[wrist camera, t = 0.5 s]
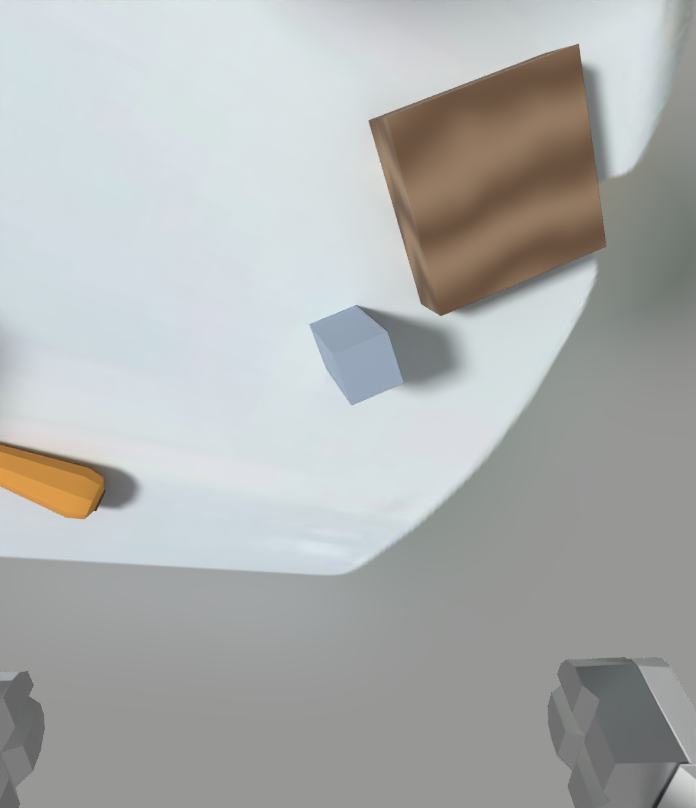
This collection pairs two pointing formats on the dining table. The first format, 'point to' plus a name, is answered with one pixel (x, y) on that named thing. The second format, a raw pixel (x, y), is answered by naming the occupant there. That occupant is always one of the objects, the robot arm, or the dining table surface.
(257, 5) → the dining table surface
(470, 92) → the walnut block
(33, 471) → the carrot
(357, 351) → the slate pillar
